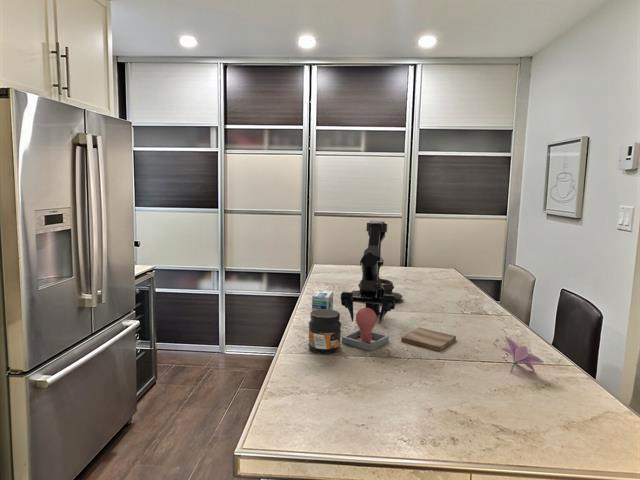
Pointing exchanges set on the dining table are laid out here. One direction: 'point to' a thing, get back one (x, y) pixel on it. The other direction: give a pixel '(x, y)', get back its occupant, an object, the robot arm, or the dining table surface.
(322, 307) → the light bulb box
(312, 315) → the supplement container
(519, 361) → the lily
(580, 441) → the dining table surface
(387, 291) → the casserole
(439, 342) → the walnut board
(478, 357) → the dining table surface
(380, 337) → the holder frame
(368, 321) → the light bulb
